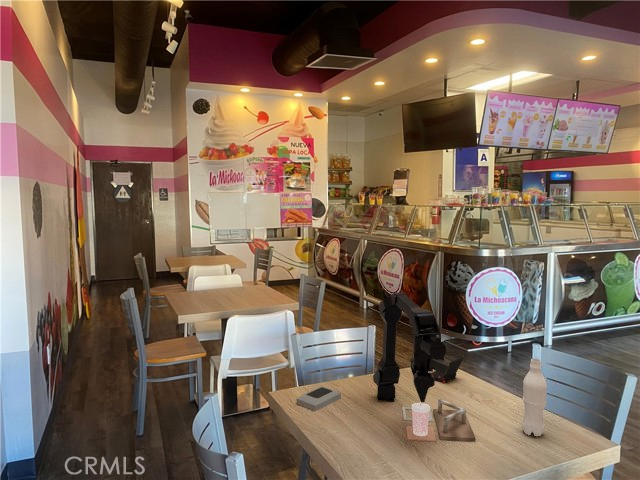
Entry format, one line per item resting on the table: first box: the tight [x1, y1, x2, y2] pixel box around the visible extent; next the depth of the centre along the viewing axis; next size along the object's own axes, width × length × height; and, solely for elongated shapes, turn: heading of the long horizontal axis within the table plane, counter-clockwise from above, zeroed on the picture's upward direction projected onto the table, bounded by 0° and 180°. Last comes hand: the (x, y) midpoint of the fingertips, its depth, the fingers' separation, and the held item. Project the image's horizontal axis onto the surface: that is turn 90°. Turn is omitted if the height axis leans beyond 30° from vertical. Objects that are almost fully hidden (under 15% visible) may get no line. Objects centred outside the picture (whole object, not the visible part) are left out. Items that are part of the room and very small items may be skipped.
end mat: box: [405, 425, 437, 443], centre depth 158 cm, size 9×9×1 cm
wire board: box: [432, 398, 477, 443], centre depth 163 cm, size 11×20×6 cm, turn 173°
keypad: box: [295, 385, 342, 412], centre depth 183 cm, size 10×4×15 cm
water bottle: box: [521, 357, 548, 437], centre depth 157 cm, size 7×7×25 cm
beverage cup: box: [411, 400, 431, 436], centre depth 157 cm, size 6×6×14 cm
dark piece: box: [430, 357, 463, 384], centre depth 205 cm, size 9×12×10 cm
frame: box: [401, 406, 434, 423], centre depth 171 cm, size 10×10×1 cm
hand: (421, 396), depth 156 cm, fingers open, 9 cm apart
